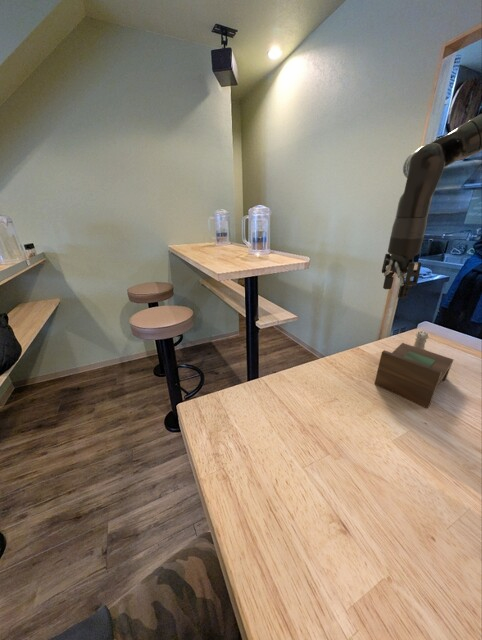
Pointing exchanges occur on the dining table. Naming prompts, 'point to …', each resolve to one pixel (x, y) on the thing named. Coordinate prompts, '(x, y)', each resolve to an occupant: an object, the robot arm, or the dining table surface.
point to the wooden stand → (412, 373)
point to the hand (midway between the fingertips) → (394, 293)
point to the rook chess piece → (421, 339)
